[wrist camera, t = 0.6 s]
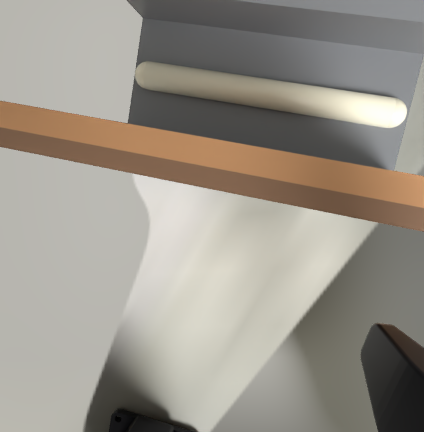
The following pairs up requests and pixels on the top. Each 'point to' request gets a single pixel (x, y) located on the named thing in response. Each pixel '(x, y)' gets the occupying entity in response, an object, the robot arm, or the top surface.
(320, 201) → the duct cover
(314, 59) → the cable duct
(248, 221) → the top surface
